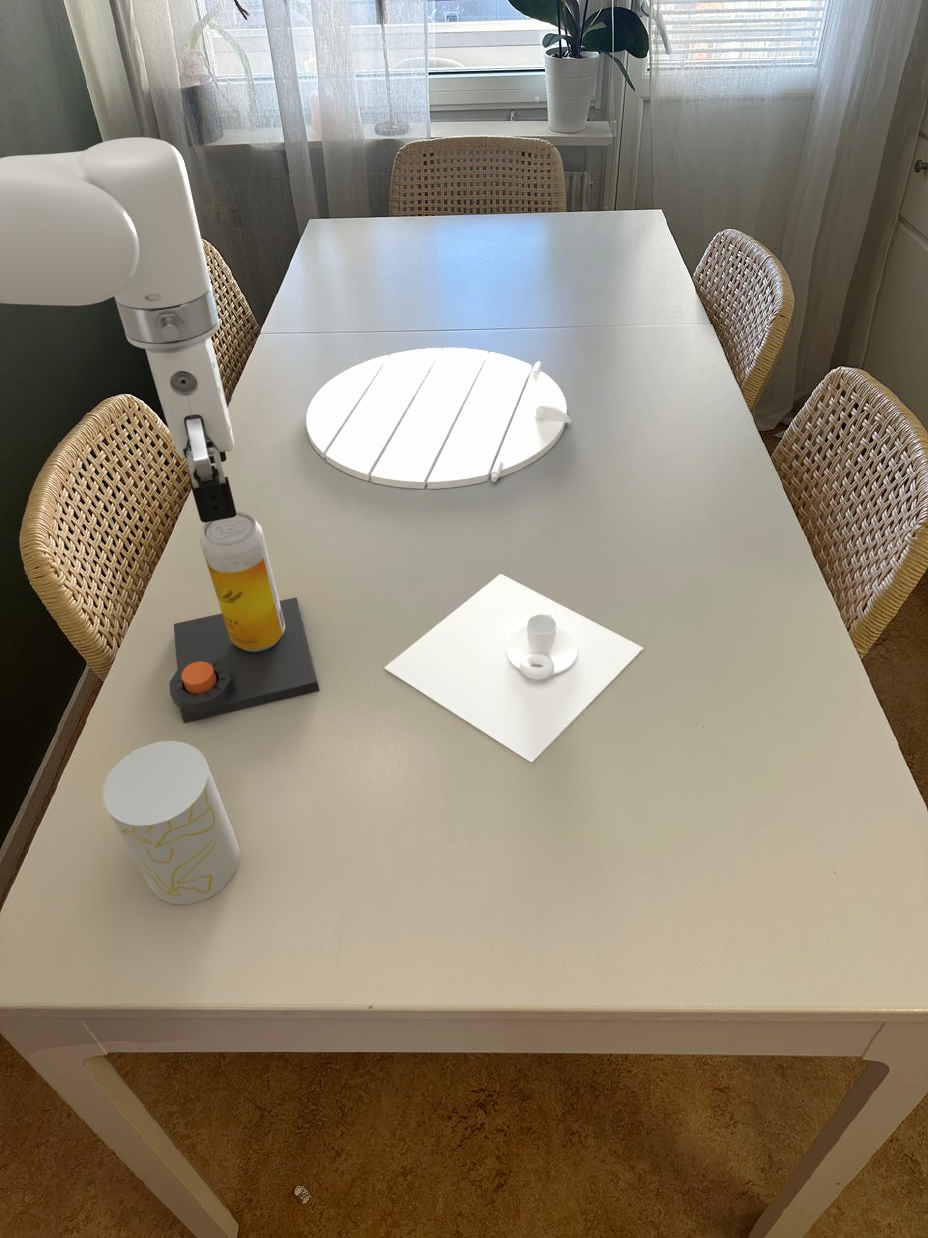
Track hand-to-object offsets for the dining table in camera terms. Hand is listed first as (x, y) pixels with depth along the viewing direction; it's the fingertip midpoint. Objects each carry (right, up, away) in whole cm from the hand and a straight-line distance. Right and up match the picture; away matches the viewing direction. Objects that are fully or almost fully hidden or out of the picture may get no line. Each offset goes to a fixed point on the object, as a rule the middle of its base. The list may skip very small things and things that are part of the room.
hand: (214, 489), depth 82 cm
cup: (0, -34, -5) cm, 34 cm away
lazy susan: (+20, +19, +50) cm, 57 cm away
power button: (-3, -19, +7) cm, 20 cm away
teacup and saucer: (+29, -17, +12) cm, 36 cm away
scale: (0, -17, +13) cm, 21 cm away
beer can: (+1, -14, +14) cm, 20 cm away
